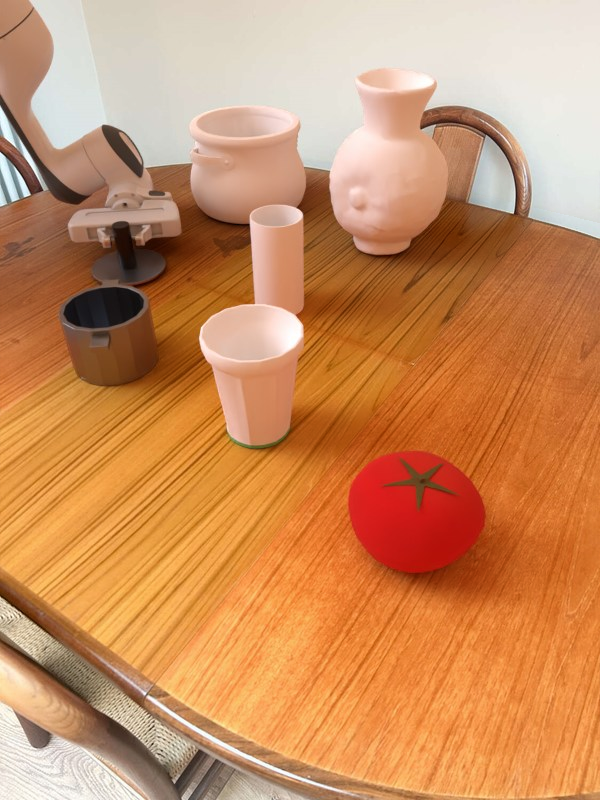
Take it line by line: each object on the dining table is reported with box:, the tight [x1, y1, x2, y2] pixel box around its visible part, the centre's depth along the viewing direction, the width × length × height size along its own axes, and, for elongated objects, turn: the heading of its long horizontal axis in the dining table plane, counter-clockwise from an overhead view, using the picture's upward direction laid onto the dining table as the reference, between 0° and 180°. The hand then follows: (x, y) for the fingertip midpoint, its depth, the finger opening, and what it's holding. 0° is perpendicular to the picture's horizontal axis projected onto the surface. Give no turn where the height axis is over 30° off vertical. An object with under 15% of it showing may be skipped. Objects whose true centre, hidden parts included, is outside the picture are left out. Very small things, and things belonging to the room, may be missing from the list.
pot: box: [188, 104, 307, 225], centre depth 137 cm, size 26×24×18 cm
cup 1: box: [249, 205, 305, 316], centre depth 105 cm, size 8×8×16 cm
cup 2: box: [198, 303, 305, 449], centre depth 82 cm, size 12×12×15 cm
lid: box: [90, 221, 167, 287], centre depth 117 cm, size 13×13×9 cm
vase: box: [328, 67, 450, 256], centre depth 117 cm, size 19×21×30 cm
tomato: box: [347, 450, 487, 574], centre depth 69 cm, size 14×13×10 cm
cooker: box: [57, 279, 159, 387], centre depth 96 cm, size 12×18×10 cm
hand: (123, 243), depth 116 cm, fingers open, 4 cm apart
